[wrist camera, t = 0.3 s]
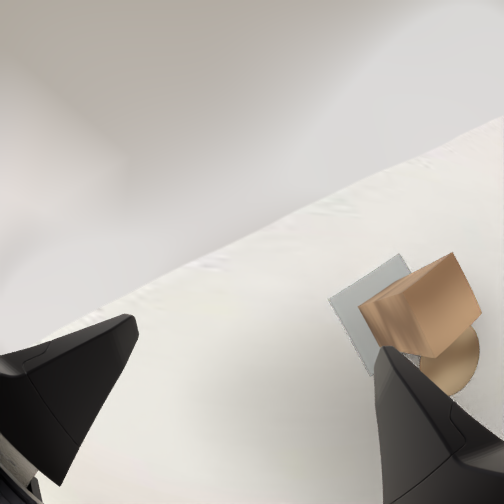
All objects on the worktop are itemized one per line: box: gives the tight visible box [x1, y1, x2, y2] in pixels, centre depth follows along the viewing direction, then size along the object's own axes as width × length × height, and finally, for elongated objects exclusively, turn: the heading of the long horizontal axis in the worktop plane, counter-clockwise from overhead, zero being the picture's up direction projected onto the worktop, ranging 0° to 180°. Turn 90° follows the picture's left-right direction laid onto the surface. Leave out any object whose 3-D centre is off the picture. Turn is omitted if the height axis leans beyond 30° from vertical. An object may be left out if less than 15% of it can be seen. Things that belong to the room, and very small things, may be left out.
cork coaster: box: [420, 325, 479, 396], centre depth 19 cm, size 8×8×1 cm
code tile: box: [328, 254, 411, 376], centre depth 21 cm, size 8×8×1 cm
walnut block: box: [358, 252, 482, 358], centre depth 16 cm, size 4×4×10 cm
